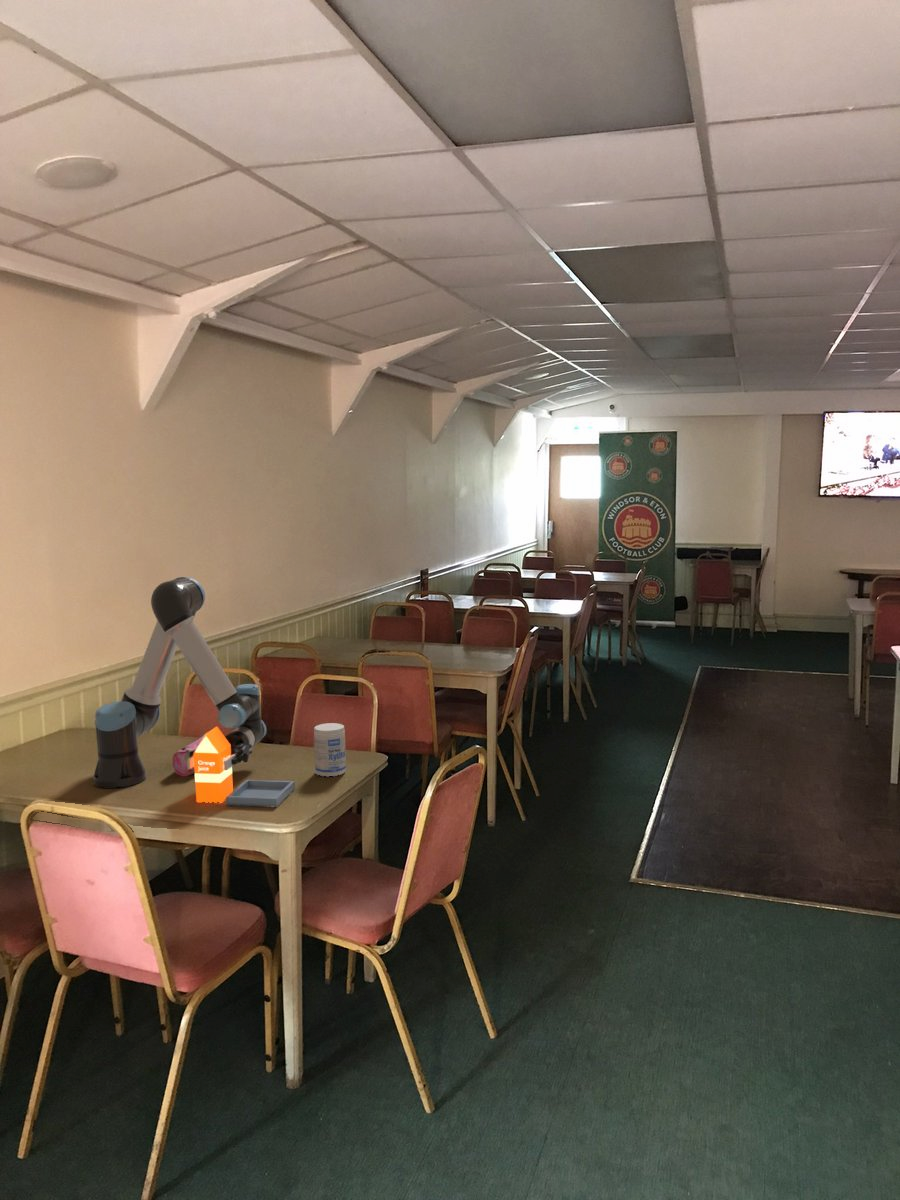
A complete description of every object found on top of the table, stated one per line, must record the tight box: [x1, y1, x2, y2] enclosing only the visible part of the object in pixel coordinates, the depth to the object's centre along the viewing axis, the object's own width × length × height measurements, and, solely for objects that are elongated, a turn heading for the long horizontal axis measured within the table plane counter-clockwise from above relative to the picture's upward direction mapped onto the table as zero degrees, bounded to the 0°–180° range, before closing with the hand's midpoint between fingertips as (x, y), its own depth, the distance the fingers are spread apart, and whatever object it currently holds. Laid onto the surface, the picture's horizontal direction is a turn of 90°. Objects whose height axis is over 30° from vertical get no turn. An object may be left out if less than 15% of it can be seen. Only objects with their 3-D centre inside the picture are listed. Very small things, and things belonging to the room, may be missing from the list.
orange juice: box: [194, 726, 234, 804], centre depth 265 cm, size 8×9×20 cm
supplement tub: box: [313, 722, 347, 778], centre depth 285 cm, size 10×10×15 cm
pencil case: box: [171, 731, 209, 777], centre depth 295 cm, size 21×9×9 cm, turn 168°
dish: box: [225, 779, 296, 808], centre depth 265 cm, size 15×15×2 cm
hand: (206, 765), depth 260 cm, fingers open, 10 cm apart
